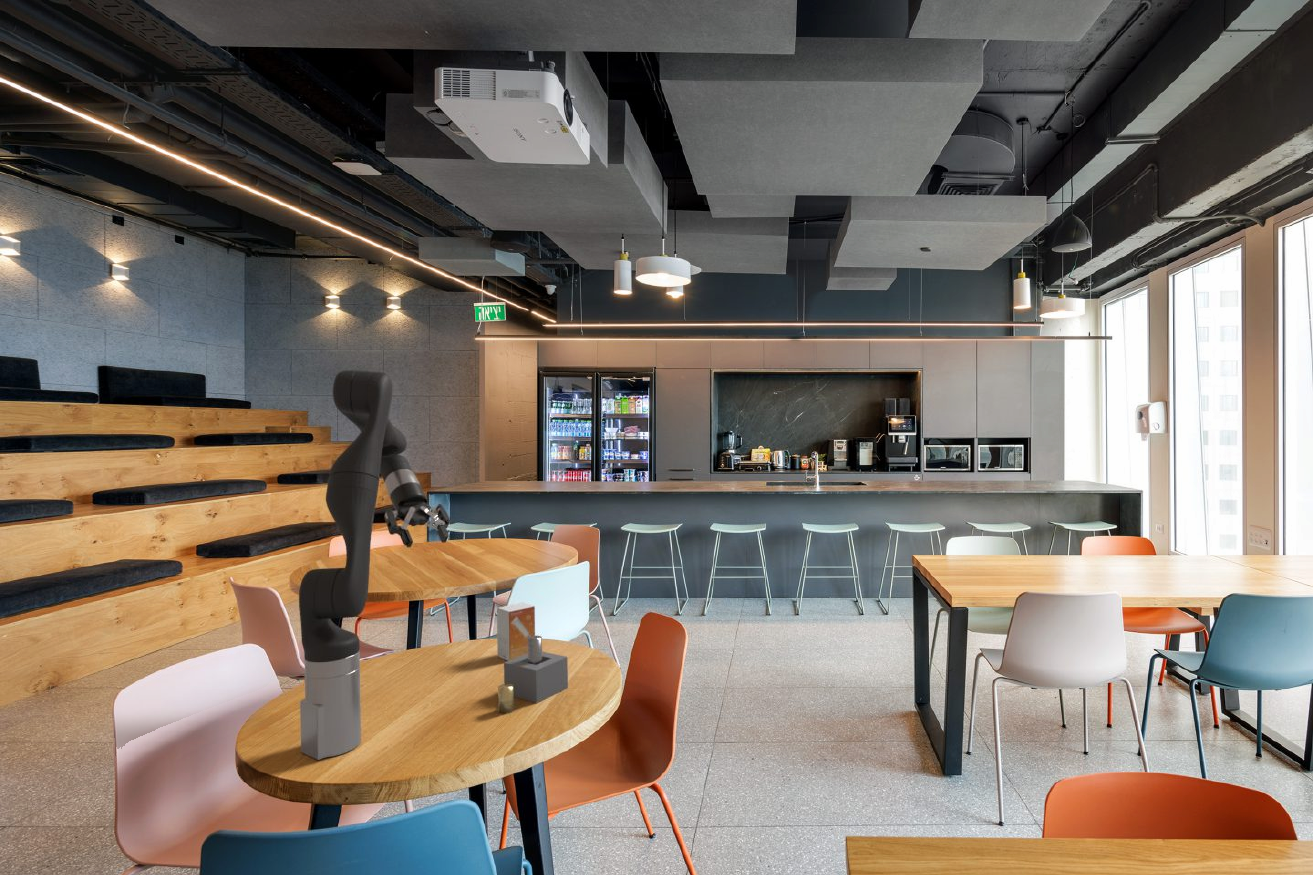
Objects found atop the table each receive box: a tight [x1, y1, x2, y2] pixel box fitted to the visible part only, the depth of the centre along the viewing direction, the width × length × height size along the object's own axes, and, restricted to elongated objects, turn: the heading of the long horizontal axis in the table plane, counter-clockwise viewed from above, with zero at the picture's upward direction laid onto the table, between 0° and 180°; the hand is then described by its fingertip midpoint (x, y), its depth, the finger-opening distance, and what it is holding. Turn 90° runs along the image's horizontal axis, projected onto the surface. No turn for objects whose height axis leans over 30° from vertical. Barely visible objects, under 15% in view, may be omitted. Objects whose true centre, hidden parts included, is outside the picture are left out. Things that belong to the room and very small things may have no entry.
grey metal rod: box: [527, 635, 543, 665], centre depth 142 cm, size 3×3×12 cm
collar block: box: [503, 650, 569, 704], centre depth 142 cm, size 10×10×7 cm
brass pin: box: [497, 683, 515, 715], centre depth 132 cm, size 3×3×5 cm
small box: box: [496, 602, 536, 662], centre depth 167 cm, size 8×6×13 cm
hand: (428, 542), depth 146 cm, fingers open, 8 cm apart
